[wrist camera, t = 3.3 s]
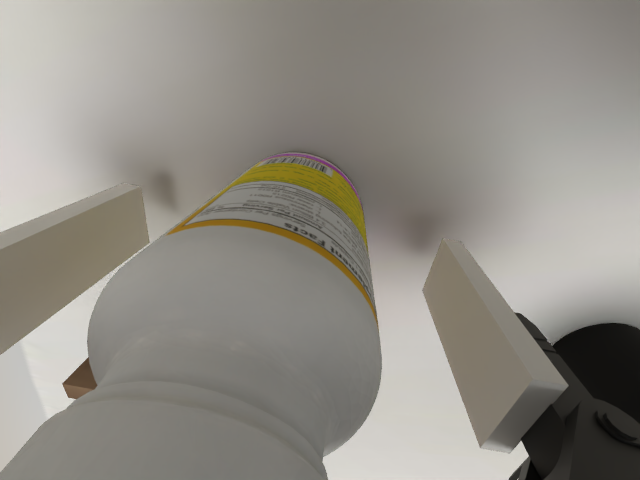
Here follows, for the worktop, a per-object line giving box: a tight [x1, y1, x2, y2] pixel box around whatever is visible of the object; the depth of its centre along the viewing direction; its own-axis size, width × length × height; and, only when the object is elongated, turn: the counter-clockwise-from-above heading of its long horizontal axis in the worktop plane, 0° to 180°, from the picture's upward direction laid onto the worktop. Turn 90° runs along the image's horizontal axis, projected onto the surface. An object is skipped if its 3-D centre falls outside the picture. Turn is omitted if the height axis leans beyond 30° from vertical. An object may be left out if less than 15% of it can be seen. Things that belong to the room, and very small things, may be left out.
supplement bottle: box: [0, 152, 382, 480], centre depth 9 cm, size 7×7×13 cm
